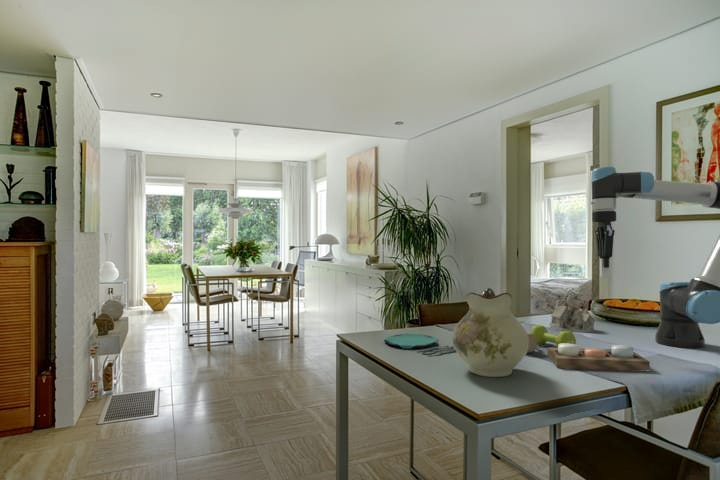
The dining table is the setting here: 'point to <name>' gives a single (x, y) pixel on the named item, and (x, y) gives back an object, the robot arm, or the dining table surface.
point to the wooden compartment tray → (598, 361)
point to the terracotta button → (595, 352)
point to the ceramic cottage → (571, 317)
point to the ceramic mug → (532, 343)
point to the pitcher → (490, 335)
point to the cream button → (568, 349)
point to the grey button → (622, 351)
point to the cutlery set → (417, 343)
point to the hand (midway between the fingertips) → (605, 276)
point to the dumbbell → (552, 336)
